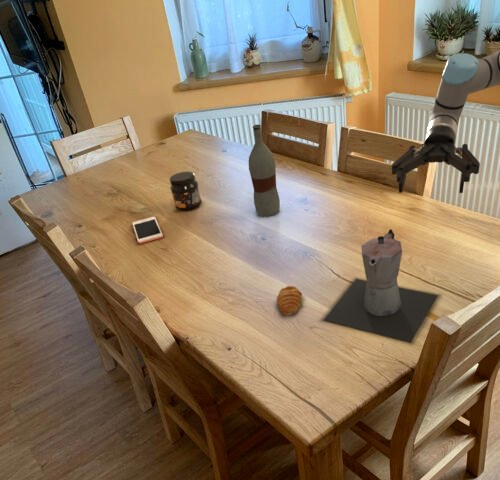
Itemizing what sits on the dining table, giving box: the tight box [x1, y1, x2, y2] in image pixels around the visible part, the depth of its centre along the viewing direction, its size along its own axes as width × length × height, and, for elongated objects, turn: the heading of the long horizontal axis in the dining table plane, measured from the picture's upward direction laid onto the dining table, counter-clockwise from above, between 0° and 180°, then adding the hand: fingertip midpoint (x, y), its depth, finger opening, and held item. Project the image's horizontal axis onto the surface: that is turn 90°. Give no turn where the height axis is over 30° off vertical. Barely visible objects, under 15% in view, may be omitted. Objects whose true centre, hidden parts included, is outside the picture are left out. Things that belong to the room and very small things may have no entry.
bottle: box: [248, 124, 281, 218], centre depth 169 cm, size 9×9×30 cm
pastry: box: [276, 285, 303, 316], centre depth 130 cm, size 9×7×4 cm
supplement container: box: [169, 171, 202, 212], centre depth 189 cm, size 10×10×12 cm
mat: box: [323, 278, 439, 344], centre depth 124 cm, size 22×20×1 cm
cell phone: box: [132, 216, 164, 245], centre depth 180 cm, size 9×18×1 cm, turn 18°
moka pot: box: [360, 228, 403, 316], centre depth 119 cm, size 10×15×20 cm, turn 154°
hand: (430, 188), depth 117 cm, fingers open, 13 cm apart
